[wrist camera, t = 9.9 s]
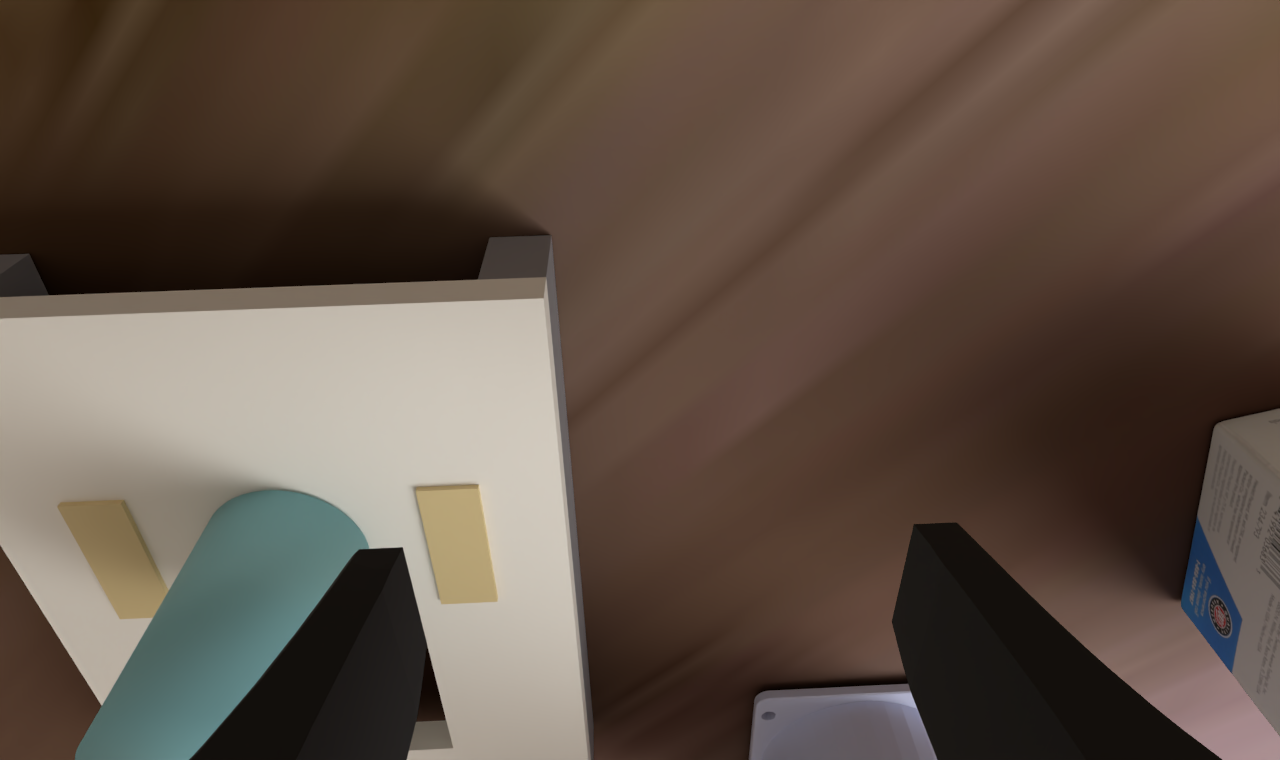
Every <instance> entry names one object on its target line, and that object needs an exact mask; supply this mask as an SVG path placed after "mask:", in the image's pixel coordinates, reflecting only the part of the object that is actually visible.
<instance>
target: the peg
mask: <svg viewBox="0 0 1280 760" xmlns="http://www.w3.org/2000/svg"><path fill="white" fill-rule="evenodd" d="M359 549H369V545H368V542H367V540H366V538H365V536H364V534H363V533H362V531H361V530H360V528H359V527H358V526H357V525H356V524H355V523H354V521H352V520H351V519H350V518H349V517H348V516H347V515H346V514H344V513H343V512H341V511H340V510H339V509H337V508H335V507H334V506H332V505H330V504H328V503H326V502H324V501H322V500H320V499H317V498H314V497H311V496H308V495H305V494H301V493H296V492H290V491H280V490H264V491H256V492H251V493H247V494H243V495H240V496H238V497H235V498H233V499H231V500H229V501H228V502H226V503H224V504H223V505H222V506H221V507H219V508H218V509H217V510H216V512H215V513H214V514H213V515H212V517H211V519H210V520H209V522H208V524H207V525H206V527H205V529H204V531H203V532H202V534H201V536H200V538H199V539H198V541H197V543H196V544H195V546H194V548H193V550H192V551H191V553H190V555H189V557H188V558H187V560H186V562H185V563H184V565H183V567H182V569H181V570H180V572H179V574H178V575H177V577H176V579H175V581H174V582H173V584H172V586H171V588H170V589H169V591H168V593H167V594H166V596H165V598H164V600H163V601H162V603H161V605H160V607H159V608H158V610H157V612H156V613H155V615H154V617H153V619H152V620H151V622H150V624H149V625H148V627H147V629H146V631H145V632H144V634H143V636H142V638H141V639H140V641H139V643H138V644H137V646H136V648H135V650H134V651H133V653H132V655H131V657H130V658H129V660H128V662H127V663H126V665H125V667H124V669H123V670H122V672H121V674H120V675H119V677H118V679H117V681H116V682H115V684H114V686H113V688H112V689H111V691H110V693H109V694H108V696H107V698H106V700H105V701H104V703H103V705H102V707H101V708H100V710H99V712H98V713H97V715H96V717H95V719H94V720H93V722H92V724H91V725H90V727H89V729H88V731H87V732H86V734H85V736H84V738H83V739H82V741H81V743H80V744H79V746H78V748H77V751H76V754H75V760H189V759H190V758H191V757H192V756H193V755H194V754H195V753H196V752H197V751H198V750H199V749H200V747H201V746H202V745H203V744H204V743H205V742H206V741H207V740H208V738H209V737H210V736H211V735H212V734H213V733H214V731H215V730H216V729H217V728H218V727H219V726H220V724H221V723H222V722H223V721H224V720H225V719H226V718H227V716H228V715H229V714H230V713H231V712H232V711H233V709H234V708H235V707H236V706H237V705H238V704H239V702H240V701H241V700H242V699H243V698H244V697H245V696H246V694H247V693H248V692H249V691H250V690H251V688H252V687H253V686H254V685H255V684H256V682H257V681H258V680H259V679H260V677H261V676H262V675H263V674H264V672H265V671H266V670H267V669H268V667H269V666H270V665H271V663H272V662H273V661H274V660H275V658H276V657H277V656H278V655H279V653H280V652H281V651H282V650H283V648H284V647H285V646H286V644H287V643H288V642H289V641H290V639H291V638H292V637H293V636H294V634H295V633H296V632H297V630H298V629H299V628H300V626H301V625H302V624H303V622H304V621H305V620H306V618H307V617H308V616H309V614H310V613H311V612H312V610H313V609H314V608H315V606H316V605H317V604H318V602H319V601H320V600H321V598H322V597H323V596H324V594H325V593H326V591H327V590H328V589H329V587H330V586H331V585H332V583H333V582H334V580H335V579H336V578H337V576H338V575H339V574H340V572H341V571H342V569H343V568H344V567H345V565H346V564H347V562H348V561H349V560H350V558H351V557H352V556H353V555H354V554H355V553H356V552H357V551H358V550H359Z"/></svg>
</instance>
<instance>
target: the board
mask: <svg viewBox="0 0 1280 760" xmlns="http://www.w3.org/2000/svg"><path fill="white" fill-rule="evenodd" d="M264 490H280V491H290V492H296V493H301V494H305V495H308V496H311V497H314V498H317V499H320V500H322V501H324V502H326V503H328V504H330V505H332V506H334V507H335V508H337V509H339V510H340V511H341V512H343V513H344V514H346V515H347V516H348V517H349V518H350V519H351V520H352V521H354V523H355V524H356V525H357V526H358V527H359V528H360V530H361V531H362V533H363V534H364V536H365V538H366V540H367V542H368V545H369V549H375V548H397V547H403V550H404V554H405V558H406V562H407V566H408V570H409V574H410V578H411V582H412V586H413V590H414V594H415V598H416V602H417V606H418V610H419V614H420V618H421V622H422V626H423V630H424V634H425V638H426V641H427V646H428V650H429V654H430V658H431V662H432V666H433V670H434V674H435V678H436V682H437V686H438V690H439V694H440V698H441V702H442V706H443V709H444V713H445V717H446V720H444V721H424V722H416V724H415V728H414V732H413V736H412V740H411V744H410V748H409V752H408V756H407V760H594V724H593V712H592V701H591V689H590V677H589V666H588V654H587V643H586V631H585V619H584V608H583V596H582V585H581V573H580V561H579V550H578V538H577V527H576V515H575V503H574V492H573V480H572V468H571V457H570V445H569V434H568V422H567V410H566V399H565V387H564V376H563V364H562V352H561V341H560V329H559V318H558V306H557V294H556V283H555V271H554V259H553V248H552V236H551V235H542V236H514V237H490V238H489V241H488V245H487V248H486V252H485V256H484V259H483V263H482V266H481V270H480V273H479V277H478V280H455V281H428V282H400V283H373V284H346V285H319V286H292V287H265V288H237V289H210V290H183V291H156V292H129V293H101V294H74V295H49V294H48V292H47V290H46V288H45V286H44V284H43V282H42V280H41V278H40V275H39V273H38V271H37V269H36V267H35V265H34V263H33V261H32V259H31V256H30V254H8V255H0V545H1V547H2V549H3V550H4V552H5V553H6V555H7V557H8V558H9V560H10V561H11V563H12V564H13V566H14V568H15V569H16V571H17V572H18V574H19V576H20V577H21V579H22V580H23V582H24V583H25V585H26V587H27V588H28V590H29V591H30V593H31V595H32V596H33V598H34V599H35V601H36V602H37V604H38V606H39V607H40V609H41V610H42V612H43V614H44V615H45V617H46V618H47V620H48V621H49V623H50V625H51V626H52V628H53V629H54V631H55V633H56V634H57V636H58V637H59V639H60V640H61V642H62V644H63V645H64V647H65V648H66V650H67V652H68V653H69V655H70V656H71V658H72V659H73V661H74V663H75V664H76V666H77V667H78V669H79V671H80V672H81V674H82V675H83V677H84V678H85V680H86V682H87V683H88V685H89V686H90V688H91V689H92V691H93V693H94V694H95V696H96V697H97V699H98V701H99V702H100V704H101V705H103V703H104V701H105V700H106V698H107V696H108V694H109V693H110V691H111V689H112V688H113V686H114V684H115V682H116V681H117V679H118V677H119V675H120V674H121V672H122V670H123V669H124V667H125V665H126V663H127V662H128V660H129V658H130V657H131V655H132V653H133V651H134V650H135V648H136V646H137V644H138V643H139V641H140V639H141V638H142V636H143V634H144V632H145V631H146V629H147V627H148V625H149V624H150V622H151V620H152V619H153V617H154V615H155V613H156V612H157V610H158V608H159V607H160V605H161V603H162V601H163V600H164V598H165V596H166V594H167V593H168V591H169V589H170V588H171V586H172V584H173V582H174V581H175V579H176V577H177V575H178V574H179V572H180V570H181V569H182V567H183V565H184V563H185V562H186V560H187V558H188V557H189V555H190V553H191V551H192V550H193V548H194V546H195V544H196V543H197V541H198V539H199V538H200V536H201V534H202V532H203V531H204V529H205V527H206V525H207V524H208V522H209V520H210V519H211V517H212V515H213V514H214V513H215V512H216V510H217V509H218V508H219V507H221V506H222V505H223V504H224V503H226V502H228V501H229V500H231V499H233V498H235V497H238V496H240V495H243V494H247V493H251V492H256V491H264Z"/></svg>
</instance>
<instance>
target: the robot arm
mask: <svg viewBox="0 0 1280 760" xmlns="http://www.w3.org/2000/svg"><path fill="white" fill-rule="evenodd" d="M892 624H893V628H894V632H895V636H896V640H897V644H898V648H899V651H900V655H901V659H902V663H903V666H904V670H905V674H906V677H907V681H908V684H891V685H870V686H850V687H830V688H810V689H790V690H769V691H763V692H761V693H759V694H758V695H757V696H756V697H755V700H754V709H753V719H752V730H751V741H750V751H749V760H1222V759H1221V758H1219V757H1218V756H1217V755H1215V754H1214V753H1213V752H1211V751H1210V750H1209V749H1207V748H1206V747H1205V746H1203V745H1202V744H1201V743H1200V742H1198V741H1197V740H1196V739H1194V738H1193V737H1192V736H1190V735H1189V734H1188V733H1186V732H1185V731H1184V730H1182V729H1181V728H1180V727H1179V726H1177V725H1176V724H1175V723H1174V722H1172V721H1171V720H1170V719H1169V718H1167V717H1166V716H1165V715H1164V714H1162V713H1161V712H1160V711H1159V710H1157V709H1156V708H1155V707H1154V706H1152V705H1151V704H1150V703H1149V702H1148V701H1147V700H1145V699H1144V698H1143V697H1142V696H1141V695H1140V694H1138V693H1137V692H1136V691H1135V690H1134V689H1132V688H1131V687H1130V686H1129V685H1128V684H1127V683H1125V682H1124V681H1123V680H1122V679H1121V678H1119V677H1118V676H1117V675H1116V674H1115V673H1114V672H1112V671H1111V670H1110V669H1109V668H1108V667H1107V666H1106V665H1104V664H1103V663H1102V662H1101V661H1100V660H1099V659H1098V658H1097V657H1095V656H1094V655H1093V654H1092V653H1091V652H1090V651H1089V650H1088V649H1087V648H1086V647H1084V646H1083V645H1082V644H1081V643H1080V642H1079V641H1078V640H1077V639H1076V638H1075V637H1074V636H1073V635H1072V634H1070V633H1069V632H1068V631H1067V630H1066V629H1065V628H1064V627H1063V626H1062V625H1061V624H1060V623H1059V622H1058V621H1057V620H1055V619H1054V618H1053V617H1052V616H1051V615H1050V614H1049V613H1048V612H1047V611H1046V610H1045V609H1044V608H1043V607H1042V606H1041V605H1040V604H1039V603H1038V602H1037V601H1036V600H1035V599H1034V598H1032V597H1031V596H1030V595H1029V594H1028V593H1027V592H1026V591H1025V590H1024V589H1023V588H1022V587H1021V586H1020V585H1019V584H1018V583H1017V582H1016V581H1015V580H1014V579H1013V578H1012V577H1011V576H1010V575H1009V574H1008V573H1007V572H1006V571H1005V570H1004V569H1003V568H1002V567H1001V566H1000V565H999V564H998V563H997V562H996V561H995V560H994V559H993V558H992V557H991V556H990V555H989V554H988V553H987V552H986V551H985V550H984V549H983V548H982V547H981V546H980V545H979V544H978V543H977V542H976V541H975V540H974V539H973V538H972V537H971V536H970V535H969V534H968V533H967V532H966V531H965V530H964V529H963V528H962V527H961V526H960V525H959V524H958V523H935V524H914V526H913V531H912V535H911V540H910V544H909V548H908V553H907V557H906V562H905V566H904V570H903V575H902V579H901V584H900V588H899V593H898V597H897V601H896V606H895V610H894V615H893V619H892ZM426 648H427V641H426V638H425V634H424V630H423V626H422V622H421V618H420V614H419V610H418V606H417V602H416V598H415V594H414V590H413V586H412V582H411V578H410V574H409V570H408V566H407V562H406V558H405V554H404V550H403V547H397V548H375V549H359V550H358V551H357V552H356V553H355V554H354V555H353V556H352V557H351V558H350V560H349V561H348V562H347V564H346V565H345V567H344V568H343V569H342V571H341V572H340V574H339V575H338V576H337V578H336V579H335V580H334V582H333V583H332V585H331V586H330V587H329V589H328V590H327V591H326V593H325V594H324V596H323V597H322V598H321V600H320V601H319V602H318V604H317V605H316V606H315V608H314V609H313V610H312V612H311V613H310V614H309V616H308V617H307V618H306V620H305V621H304V622H303V624H302V625H301V626H300V628H299V629H298V630H297V632H296V633H295V634H294V636H293V637H292V638H291V639H290V641H289V642H288V643H287V644H286V646H285V647H284V648H283V650H282V651H281V652H280V653H279V655H278V656H277V657H276V658H275V660H274V661H273V662H272V663H271V665H270V666H269V667H268V669H267V670H266V671H265V672H264V674H263V675H262V676H261V677H260V679H259V680H258V681H257V682H256V684H255V685H254V686H253V687H252V688H251V690H250V691H249V692H248V693H247V694H246V696H245V697H244V698H243V699H242V700H241V701H240V702H239V704H238V705H237V706H236V707H235V708H234V709H233V711H232V712H231V713H230V714H229V715H228V716H227V718H226V719H225V720H224V721H223V722H222V723H221V724H220V726H219V727H218V728H217V729H216V730H215V731H214V733H213V734H212V735H211V736H210V737H209V738H208V740H207V741H206V742H205V743H204V744H203V745H202V746H201V747H200V749H199V750H198V751H197V752H196V753H195V754H194V755H193V756H192V757H191V758H190V759H189V760H407V756H408V752H409V748H410V744H411V740H412V736H413V732H414V728H415V724H416V720H417V715H418V709H419V702H420V695H421V688H422V681H423V673H424V664H425V656H426Z"/></svg>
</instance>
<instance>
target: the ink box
mask: <svg viewBox="0 0 1280 760" xmlns="http://www.w3.org/2000/svg"><path fill="white" fill-rule="evenodd" d="M1181 607H1182V609H1183V610H1184V612H1185V613H1186V614H1187V616H1188V617H1189V618H1190V619H1191V621H1192V622H1193V623H1194V624H1195V626H1196V627H1197V629H1198V630H1199V631H1200V632H1201V634H1202V635H1203V636H1204V638H1205V639H1206V640H1207V642H1208V643H1209V644H1210V646H1211V647H1212V648H1213V649H1214V651H1215V652H1216V653H1217V655H1218V656H1219V657H1220V659H1221V660H1222V661H1223V663H1224V664H1225V665H1226V667H1227V668H1228V669H1229V671H1230V672H1231V673H1232V674H1233V676H1234V677H1235V678H1236V679H1237V681H1238V682H1239V683H1240V685H1241V686H1242V688H1243V689H1244V690H1245V692H1246V693H1247V694H1248V696H1249V697H1250V698H1251V700H1252V701H1253V702H1254V704H1255V705H1256V706H1257V707H1258V709H1259V710H1260V711H1261V713H1262V714H1263V715H1264V716H1265V718H1266V719H1267V720H1268V722H1269V723H1270V724H1271V725H1272V727H1273V728H1274V729H1275V731H1276V732H1277V733H1278V735H1279V736H1280V408H1279V409H1274V410H1270V411H1266V412H1261V413H1257V414H1252V415H1248V416H1243V417H1239V418H1234V419H1230V420H1226V421H1222V422H1219V423H1217V424H1216V425H1215V427H1214V430H1213V435H1212V440H1211V445H1210V451H1209V456H1208V461H1207V466H1206V472H1205V477H1204V482H1203V487H1202V493H1201V498H1200V503H1199V508H1198V513H1197V520H1196V525H1195V529H1194V535H1193V540H1192V546H1191V551H1190V556H1189V562H1188V567H1187V572H1186V577H1185V582H1184V588H1183V593H1182V599H1181Z"/></svg>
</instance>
